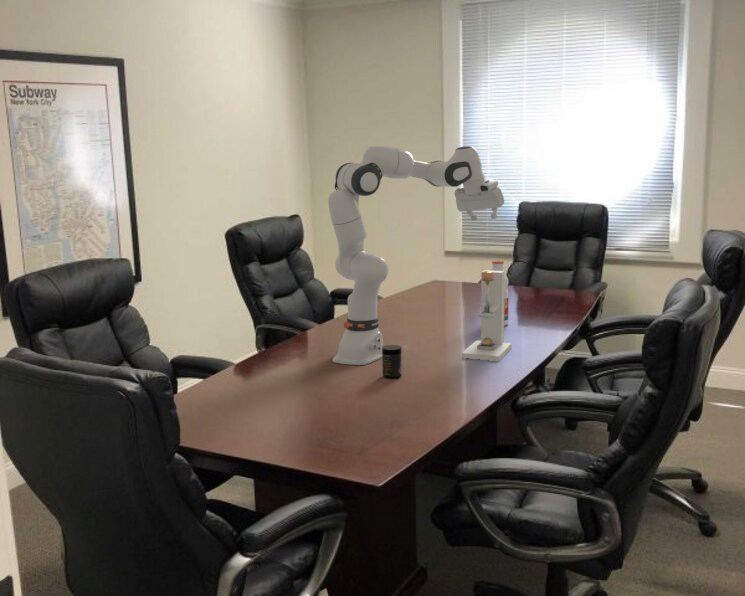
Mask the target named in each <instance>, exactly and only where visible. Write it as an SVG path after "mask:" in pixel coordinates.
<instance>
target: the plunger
mask: <svg viewBox="0 0 745 596" xmlns="http://www.w3.org/2000/svg"><path fill="white" fill-rule="evenodd" d="M483 271H484V270H483ZM481 272H482V271H481ZM493 280H494V272H492V270H490V271H484V272H482V281H485V311H484V312H479V311H478V312H479V314H478V316H479V317H480V318H481V317H482V318H493V317H495V316H496V312H489V308H490V281H493Z"/></svg>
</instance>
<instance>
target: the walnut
mask: <svg viewBox="0 0 745 596" xmlns="http://www.w3.org/2000/svg"><path fill="white" fill-rule="evenodd" d="M492 344H493V342H492V340H491V339H490V338H484V339H483V340H482V345H483V346H487V347H491V346H492Z"/></svg>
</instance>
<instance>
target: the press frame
mask: <svg viewBox="0 0 745 596" xmlns="http://www.w3.org/2000/svg"><path fill="white" fill-rule="evenodd" d="M484 271H492V270H488V269H486V270H485V269H484V270H482V271H481V272H480V273H481V277H480V279H481V282H480V283H481V284H480V285H481V286H480V289H481V291H480V292H481V295H480V303H481V304H480V307H479V309H478V310H479V311H478V312H484V311H485V281H482V272H484ZM492 272H494V280H493V281H490V308H489V312H496V316H495V317H493V318H482V317H480V318H481V319H480V340H478V339H477V340H475V341H474V342H473V343H472V344H471V345H469V346H468V347H467V348H466V349H465V350H464V351H463V352H462V353H461V359H464V358H470V359H469V360H475V359H480V360H479V361H487V360H489V361H488V362H500V361H501V360H502V359H503V358H504V357H505V355H507V354H508V352H510V350H511V349H512V346H513V345H512V344H513V343H512V342H505V326H504V289H505V274H506V271H505V270H504V271H492ZM484 338H490V339H491V340H492V342H493V344H492V346H491V347H487V346H483V345H482V340H483V339H484Z"/></svg>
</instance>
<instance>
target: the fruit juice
mask: <svg viewBox="0 0 745 596" xmlns="http://www.w3.org/2000/svg"><path fill="white" fill-rule="evenodd" d="M504 263H505V262H504V260H501V259H494V260H492V261H491V265H492V267H491V271H505V270H504ZM508 286H509V278H508V276H507V274H506V273H505V289H504V327H505V326H508V325H509V300H510V299H509V297H510V296H509V289H508Z"/></svg>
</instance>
